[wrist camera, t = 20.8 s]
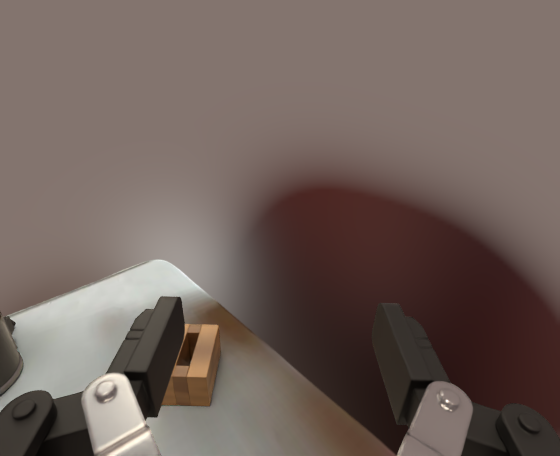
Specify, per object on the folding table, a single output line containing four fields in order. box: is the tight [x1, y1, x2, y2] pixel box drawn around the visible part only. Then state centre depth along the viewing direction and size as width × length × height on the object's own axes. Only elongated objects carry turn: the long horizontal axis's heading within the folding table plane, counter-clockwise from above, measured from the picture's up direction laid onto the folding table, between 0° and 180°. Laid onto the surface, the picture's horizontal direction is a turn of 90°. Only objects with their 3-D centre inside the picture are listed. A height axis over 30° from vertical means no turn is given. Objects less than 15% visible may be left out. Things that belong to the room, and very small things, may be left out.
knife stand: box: [162, 324, 221, 406], centre depth 41 cm, size 8×6×5 cm
